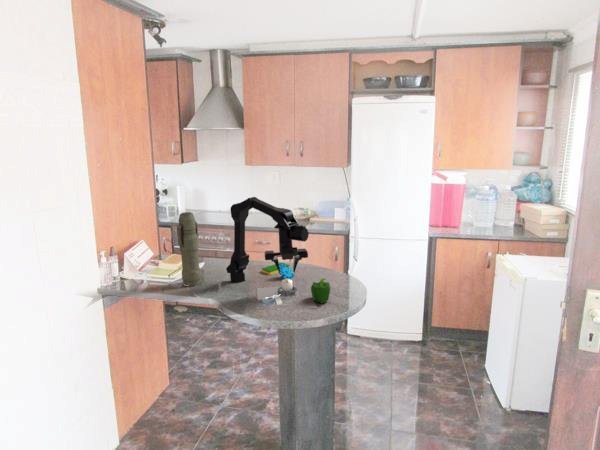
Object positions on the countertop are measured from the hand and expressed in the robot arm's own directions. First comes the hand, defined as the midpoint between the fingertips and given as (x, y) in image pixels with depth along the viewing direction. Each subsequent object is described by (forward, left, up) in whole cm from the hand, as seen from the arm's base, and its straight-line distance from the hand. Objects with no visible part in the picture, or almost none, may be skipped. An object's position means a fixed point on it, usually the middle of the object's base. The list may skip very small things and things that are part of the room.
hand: (286, 272), depth 189 cm
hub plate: (-5, 0, -10) cm, 11 cm away
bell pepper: (+13, -11, -10) cm, 20 cm away
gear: (+2, +20, -10) cm, 22 cm away
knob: (0, 0, -9) cm, 9 cm away
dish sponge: (-3, +35, -11) cm, 37 cm away
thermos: (-45, +23, -10) cm, 51 cm away
